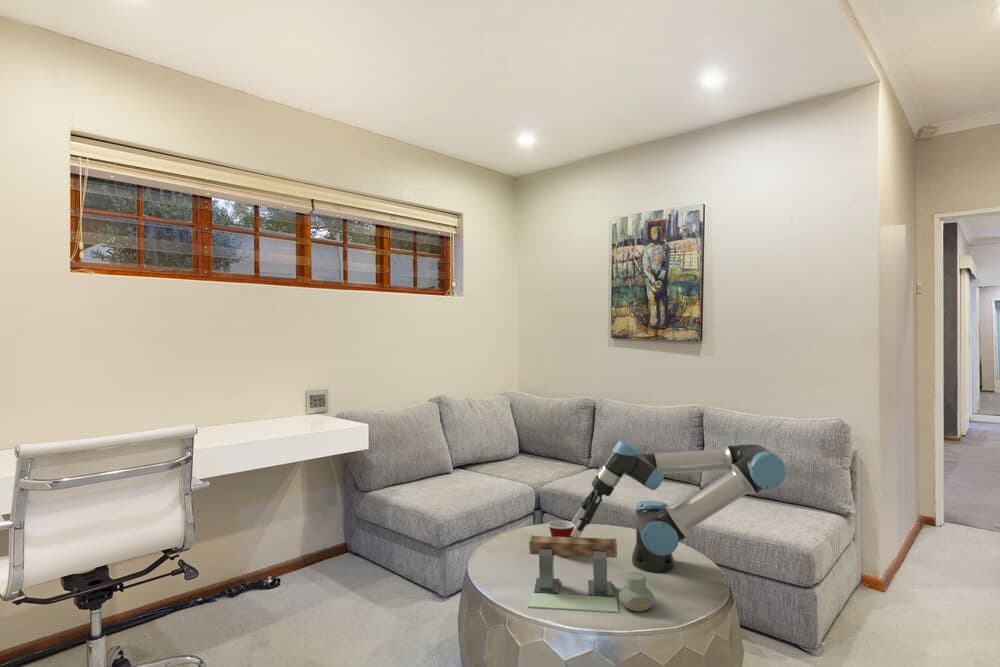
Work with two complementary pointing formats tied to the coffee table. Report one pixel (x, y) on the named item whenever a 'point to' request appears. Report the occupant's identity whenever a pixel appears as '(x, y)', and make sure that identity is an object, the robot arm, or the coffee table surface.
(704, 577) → the coffee table surface
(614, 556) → the rail
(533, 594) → the mat
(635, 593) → the air freshener
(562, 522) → the plastic cup
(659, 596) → the coffee table surface
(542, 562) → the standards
